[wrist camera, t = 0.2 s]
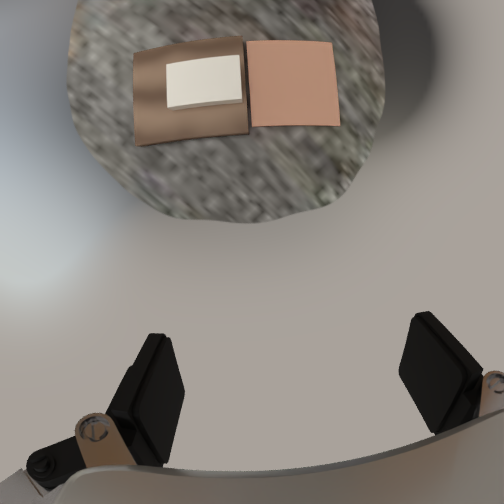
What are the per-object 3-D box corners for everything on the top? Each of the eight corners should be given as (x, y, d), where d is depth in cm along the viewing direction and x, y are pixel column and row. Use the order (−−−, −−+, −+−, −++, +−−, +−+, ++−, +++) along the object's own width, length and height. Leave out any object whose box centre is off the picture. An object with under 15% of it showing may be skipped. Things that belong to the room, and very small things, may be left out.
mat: (246, 42, 32) (246, 41, 31) (330, 43, 31) (331, 42, 31) (252, 126, 36) (252, 126, 35) (339, 126, 35) (340, 125, 35)
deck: (139, 58, 32) (133, 53, 30) (242, 42, 32) (242, 35, 29) (142, 146, 36) (135, 146, 34) (248, 134, 36) (248, 132, 34)
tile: (171, 69, 31) (166, 64, 28) (239, 61, 30) (239, 54, 28) (172, 110, 33) (167, 107, 30) (242, 102, 32) (241, 98, 30)
